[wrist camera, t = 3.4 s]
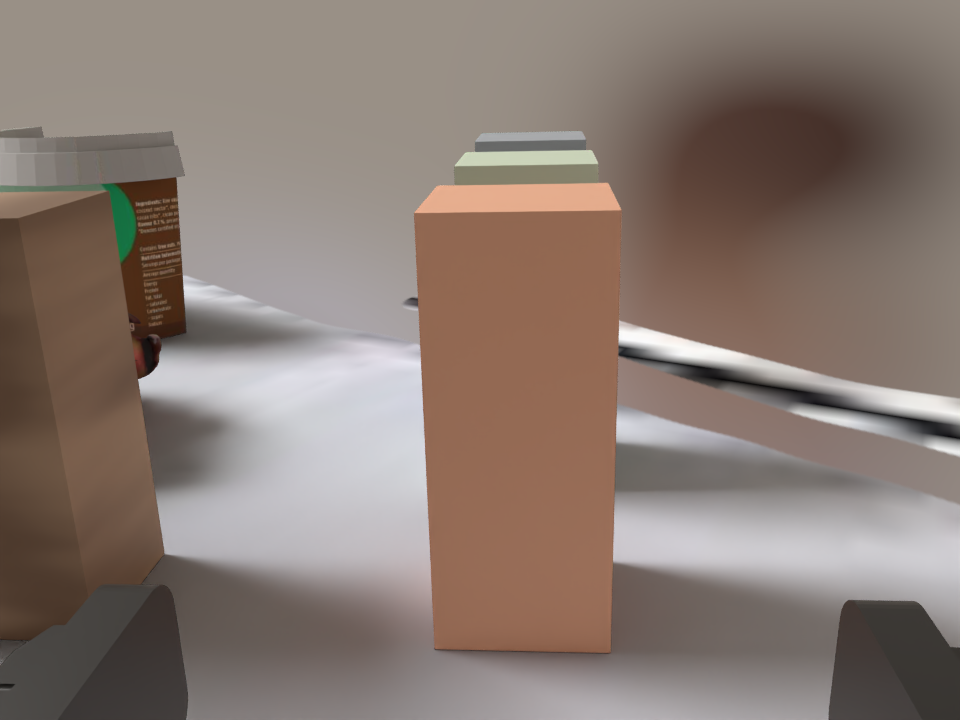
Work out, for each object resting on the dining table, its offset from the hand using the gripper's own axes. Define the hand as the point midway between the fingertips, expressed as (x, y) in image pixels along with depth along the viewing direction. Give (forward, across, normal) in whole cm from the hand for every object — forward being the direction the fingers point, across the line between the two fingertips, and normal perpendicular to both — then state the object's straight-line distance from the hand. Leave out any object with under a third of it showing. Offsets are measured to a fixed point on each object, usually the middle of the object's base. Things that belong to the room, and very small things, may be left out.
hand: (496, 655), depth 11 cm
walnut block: (+10, +12, +6) cm, 17 cm away
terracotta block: (+10, 0, +6) cm, 12 cm away
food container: (+34, +23, +6) cm, 41 cm away
